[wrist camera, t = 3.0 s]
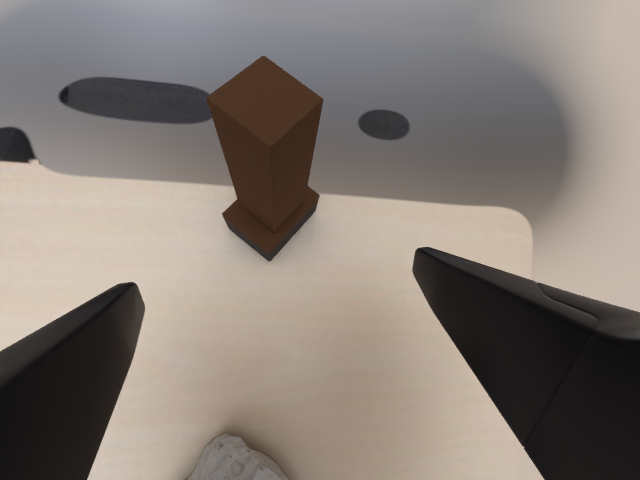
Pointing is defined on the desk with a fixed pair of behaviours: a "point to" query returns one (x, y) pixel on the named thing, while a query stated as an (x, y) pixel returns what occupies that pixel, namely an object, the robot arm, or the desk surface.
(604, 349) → the robot arm
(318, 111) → the stamp
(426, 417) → the desk surface
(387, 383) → the desk surface
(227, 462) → the stone
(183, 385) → the desk surface
